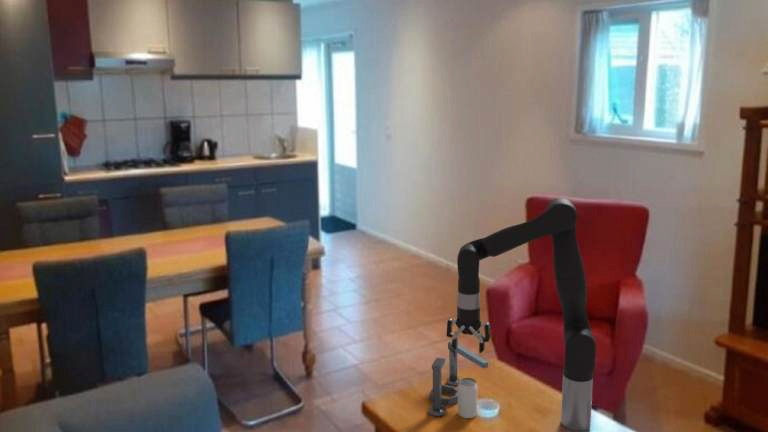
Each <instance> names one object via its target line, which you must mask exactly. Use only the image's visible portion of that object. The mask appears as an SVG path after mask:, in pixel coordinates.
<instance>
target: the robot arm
mask: <svg viewBox="0 0 768 432" xmlns="http://www.w3.org/2000/svg"><path fill="white" fill-rule="evenodd" d="M577 212H578V211H577V209H576V207H575V205H574V204H573V203H572V202H571V201H570V200H569V199H566V198H564V197H557V198H554V199H552V200H551V201H550V202H549V203H548V205H547V206H546V208H545V211H544V212H543V213H541V214H539V215H538V216H536V217H535V218H532V219H530V220H528V221H526V222H522V223H519V224H515V225H511V226H508V227H504V228H501V229H500V230H498V231H495V232H493V233H491V234H489V235H488V236H487V235H486V236H485V237H482V238H478V239H475V240H472V241H469V242H467V243H465V244H463V245H462V246H461V247H460V248H459V251H458V253H457V258H456V260H457V262H456V263H457V275H458V280H457V296H456V298H457V299H456V319H453V318H452V317H449V318H448V319H447V322H446V324H447V325H446V337H447V338H451V341H452V347H453V348H454V350H456V349H457V344H458V343H459V342H458V339H459V338H458V336H459V335H460V334H461V333H462V334H463V335H470V336H474V337H475V338H476V339H477V340H478V341H479V345H478V351H479V352H478V353H479V354H482V353H483V352H484V351H485V343H488V342H489V341H490V340H491V325H490V322H489V321H486V322H482V321H481V294H480V293H481V292H480V291H481V290H480V288H481V287H480V285H481V279H480V277H479V275H480V273H479V272H480V261H482V260H484V259H487V258H489V257H492V258H494V257H497V256H500V255H503V254H505V253H507V252H510V251H511V250H513V249H517V248H518V247H521V246H523V245H525V244H527V243H530V242H533V241H536V240H538V239H540V238H545V237H547V236H551V238H552V239H551V240H552V250H553V251H552V255H553V260H552V261H553V272H554V273H553V274H554V280H555V287H556V291H557V296H558V299H559V303H560V306H561V310H562V318H563V342H564V347H565V348H564V364H563V369H562V371H563V372H562V390H561V391H562V392H561V393H562V394H561V413H560V414H561V415H560V418H561V419H560V423H561V425H562V426H563V427H564V428H566V429H568V430H571V431H575V432H576V431H577V432H583V431H590V430H591V422H592V420H591V419H592V406H593V405H592V404H593V403H592V401H593V384H594V383H593V381H594V379H593V378H594V372H595V366H596V354H597V353H596V352H597V346H596V345H597V344H596V341H595V338H594V335H593V332H592V329H591V325H590V322H589V317H588V313H587V298H588V297H587V296H588V294H587V293H588V292H587V290H588V289H587V278H586V271H585V267H584V261H583V258H582V254H581V251H580V248H579V243H578V241H577V233H576V232H577V229H576V227H577V226H576V223H578V222H577V221H578V213H577ZM454 325H456V327H457V328H458V329H457V330H456V331H455V332H453V327H454ZM480 328H482V330H483V331H484V335H483V333H482V330H481V329H480Z"/></svg>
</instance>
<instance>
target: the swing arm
mask: <svg viewBox="0 0 768 432" xmlns="http://www.w3.org/2000/svg"><path fill="white" fill-rule="evenodd" d="M447 349H448V351H449V350H451V351H455V352H457V355H460V356H462V357H463V358H465V359H467V360H469V361H470V362H471V363H473V364H474V365H477V366H478V367H480V368H482V369H483V370H484V369H487V368H489V361H487V360H486V359H484V358H482V357H480V356H478V355H477V354H475V353H474V352H472V351H471V350H468V349H467V348H465V347H464V346H462V345H461V344H460V343H459V342H458V344H457V349H456V350H454V348H453V347H452V340H451V341H448V342H447Z"/></svg>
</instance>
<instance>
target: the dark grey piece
mask: <svg viewBox="0 0 768 432" xmlns="http://www.w3.org/2000/svg"><path fill="white" fill-rule="evenodd" d="M445 364H446V358H443V357H436V358H435V359H434V361H433V362H432V364H431V370H432V388H433V401H432V405H431V406H429V407H428V408H427V409H428V415H429V416H430V417H432V418H443V417H445V416H446V414H447V408H446V406H445V407H444V405H442V397H443V395H442V385H443V383H442V369H443V367H444V365H445Z"/></svg>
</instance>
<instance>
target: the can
mask: <svg viewBox="0 0 768 432" xmlns="http://www.w3.org/2000/svg"><path fill="white" fill-rule="evenodd" d="M459 382H460V383H459V385H458V386H457V389H458V403H457V414H458V415H459V416H460V417H461V418H463V419H474V418H475V417H476V416H477V414H478V384H477V381H476V380H475V379H474V378H470V377H462V378H461V379H460V381H459ZM473 417H474V418H473Z"/></svg>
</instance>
